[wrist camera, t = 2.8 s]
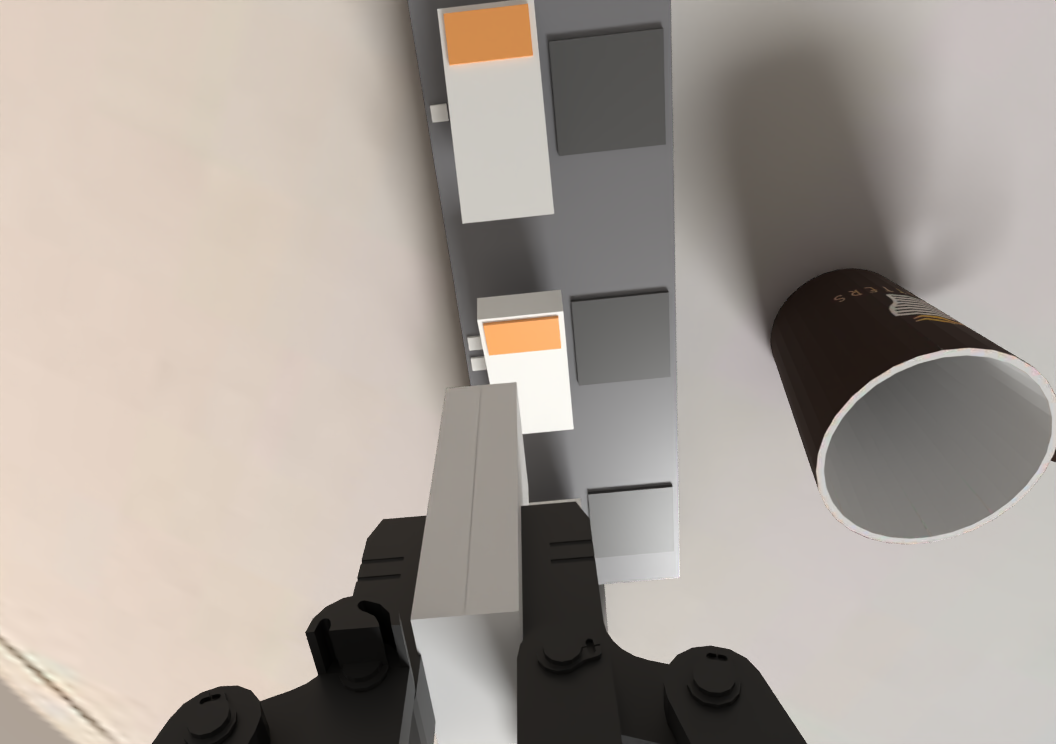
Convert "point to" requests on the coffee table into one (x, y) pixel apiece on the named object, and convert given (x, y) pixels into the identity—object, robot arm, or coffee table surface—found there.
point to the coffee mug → (908, 410)
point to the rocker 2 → (529, 355)
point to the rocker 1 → (496, 110)
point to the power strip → (589, 267)
